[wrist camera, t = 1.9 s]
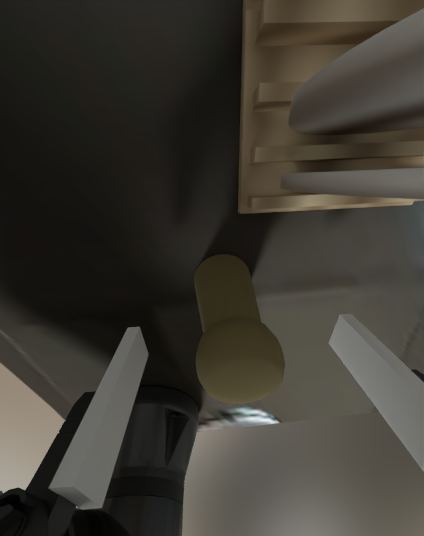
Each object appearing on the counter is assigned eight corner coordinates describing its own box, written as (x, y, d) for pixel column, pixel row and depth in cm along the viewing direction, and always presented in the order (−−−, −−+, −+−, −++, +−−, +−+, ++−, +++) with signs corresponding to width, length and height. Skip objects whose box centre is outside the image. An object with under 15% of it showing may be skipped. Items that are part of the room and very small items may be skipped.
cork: (252, 297, 20) (301, 409, 10) (200, 307, 20) (201, 426, 11) (247, 248, 17) (306, 339, 8) (187, 260, 18) (170, 364, 8)
